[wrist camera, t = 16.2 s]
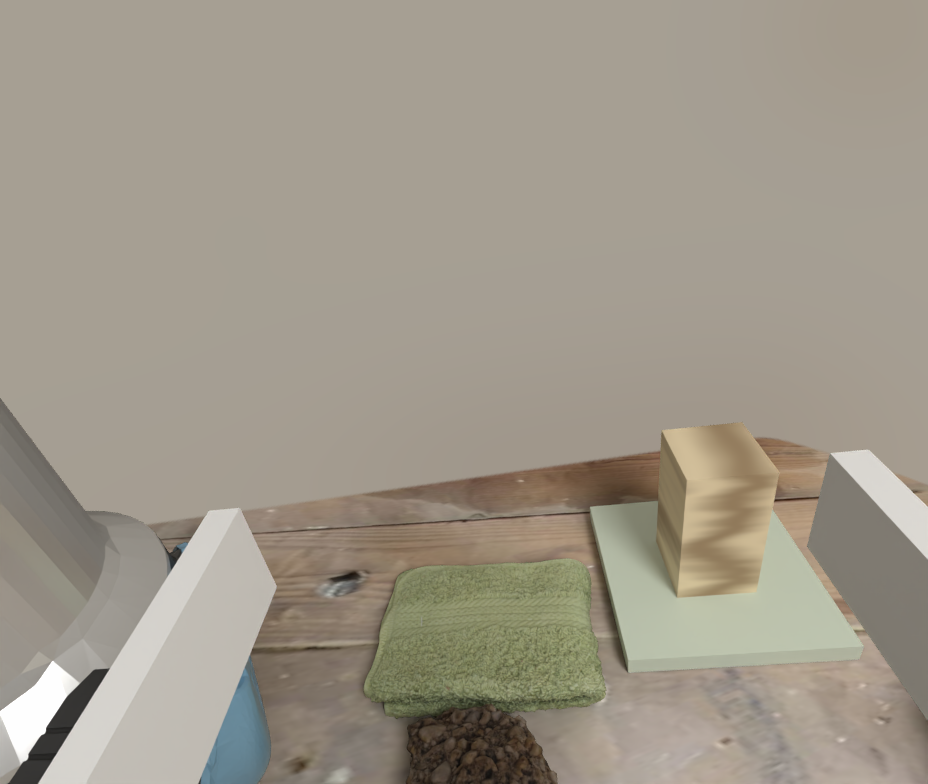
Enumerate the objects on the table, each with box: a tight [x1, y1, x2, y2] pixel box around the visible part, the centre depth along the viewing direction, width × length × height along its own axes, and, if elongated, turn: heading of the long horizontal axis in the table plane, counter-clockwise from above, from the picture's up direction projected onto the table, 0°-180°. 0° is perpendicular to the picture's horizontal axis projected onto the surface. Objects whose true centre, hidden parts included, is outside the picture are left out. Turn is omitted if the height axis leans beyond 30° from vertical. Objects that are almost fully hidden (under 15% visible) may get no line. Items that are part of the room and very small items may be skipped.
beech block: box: [656, 422, 779, 598], centre depth 42 cm, size 6×6×12 cm
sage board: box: [590, 501, 864, 673], centre depth 45 cm, size 16×16×2 cm
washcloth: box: [363, 558, 606, 719], centre depth 43 cm, size 13×18×3 cm
